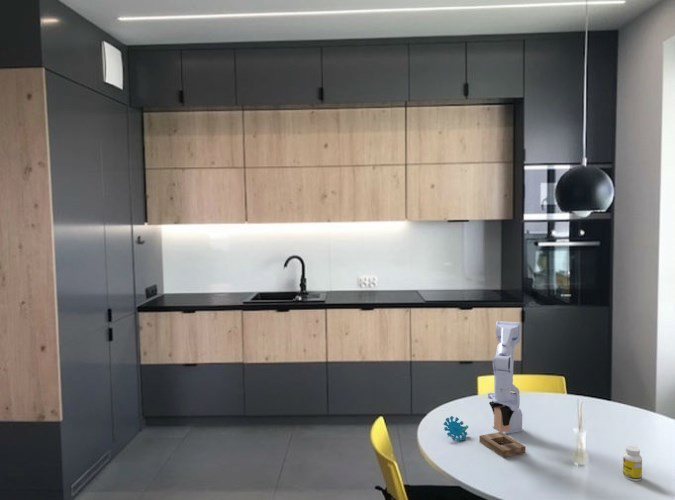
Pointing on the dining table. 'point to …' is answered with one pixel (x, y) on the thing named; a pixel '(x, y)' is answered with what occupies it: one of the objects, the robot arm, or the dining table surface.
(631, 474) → the supplement bottle
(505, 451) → the socket block
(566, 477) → the dining table surface
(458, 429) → the gear
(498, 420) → the peg
